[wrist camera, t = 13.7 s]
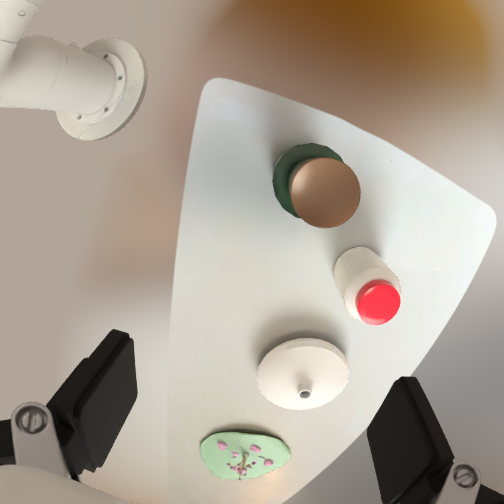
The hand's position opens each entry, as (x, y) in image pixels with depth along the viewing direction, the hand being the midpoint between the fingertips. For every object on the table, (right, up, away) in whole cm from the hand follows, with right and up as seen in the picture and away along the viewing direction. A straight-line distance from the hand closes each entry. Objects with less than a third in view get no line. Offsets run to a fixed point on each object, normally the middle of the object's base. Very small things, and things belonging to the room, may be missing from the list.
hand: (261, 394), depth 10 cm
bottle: (+6, +15, +31) cm, 35 cm away
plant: (-2, -44, +51) cm, 67 cm away
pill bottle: (+15, +2, +35) cm, 38 cm away
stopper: (+5, +11, +16) cm, 20 cm away
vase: (+8, -15, +41) cm, 44 cm away
